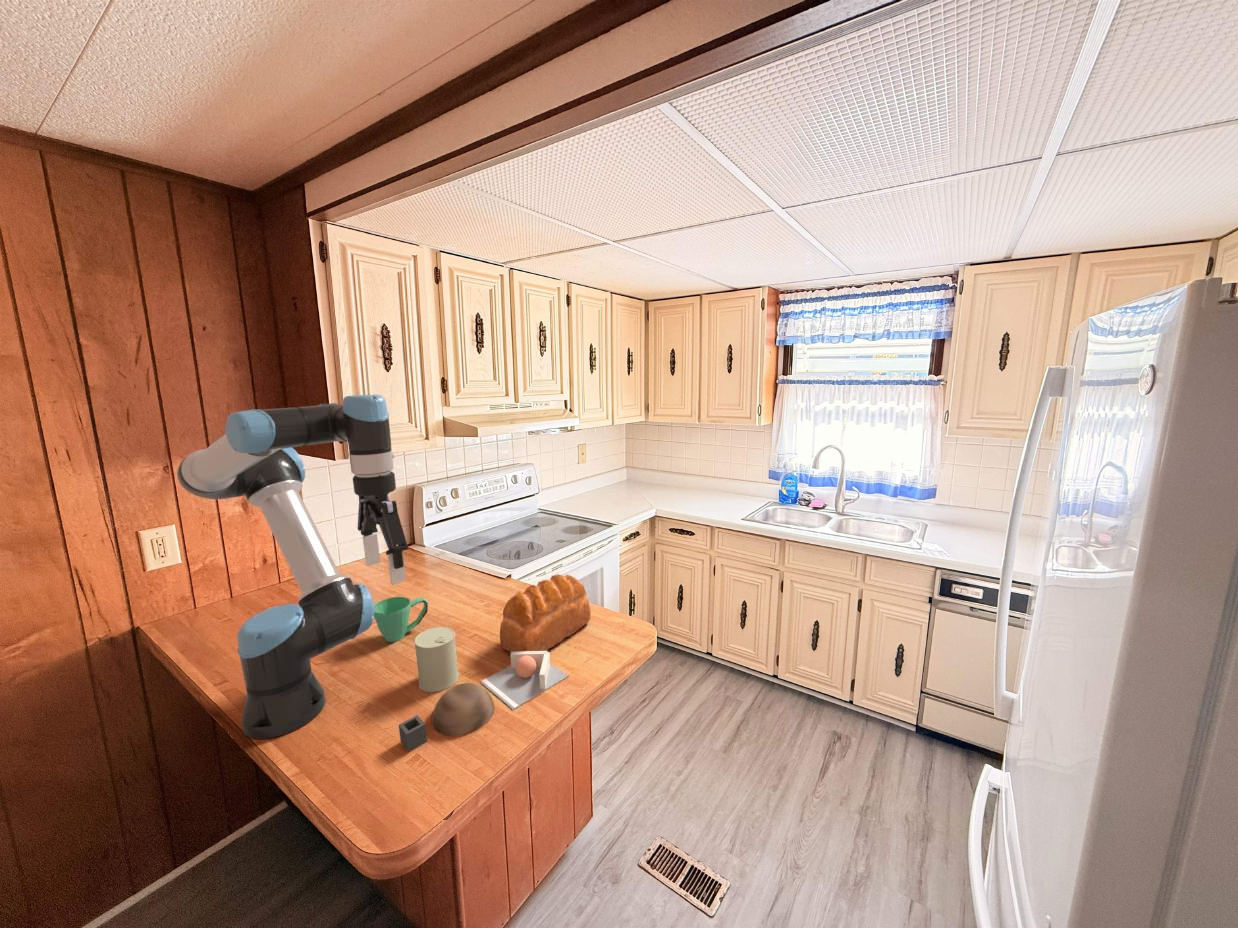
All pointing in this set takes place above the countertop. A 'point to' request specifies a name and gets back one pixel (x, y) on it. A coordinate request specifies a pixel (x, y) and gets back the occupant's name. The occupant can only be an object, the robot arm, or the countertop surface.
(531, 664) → the ball
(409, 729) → the dark grey hollow cube
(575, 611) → the bread
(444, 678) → the can
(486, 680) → the grey walled tray
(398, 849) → the countertop surface
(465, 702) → the dome
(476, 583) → the countertop surface
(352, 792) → the countertop surface
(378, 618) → the mug
